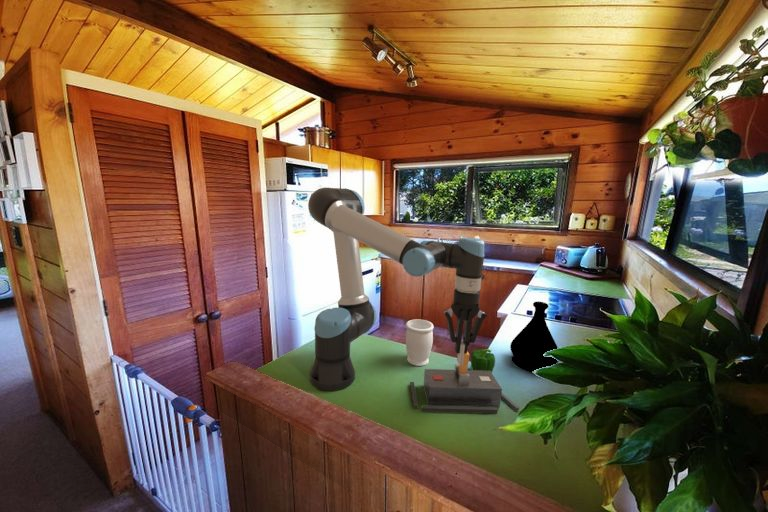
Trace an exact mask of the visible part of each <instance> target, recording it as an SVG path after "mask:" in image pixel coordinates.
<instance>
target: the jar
mask: <svg viewBox="0 0 768 512" xmlns="http://www.w3.org/2000/svg"><path fill="white" fill-rule="evenodd" d="M405 325H406V328H407V329H406V332H405V346H406V348H405V349H406V353H407V357H406V359H407V362H408V363H409V364H410V365H413V366H417V367H422V366H425V365H428V364H429V362H430V361H429V360H430V359H429V357H430V355H431V351H432V348H433V341H434V335H433V334H434V333H433V330H434V326H435V325H434V324H433V323H432V322H431V321H429V320H426V319H419V318H418V319H417V318H414V319H411V320H408V321H407V322H406V324H405Z"/></svg>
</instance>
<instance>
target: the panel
mask: <svg viewBox="0 0 768 512" xmlns="http://www.w3.org/2000/svg"><path fill="white" fill-rule="evenodd" d="M458 370H459V363H456V364H454V369H441V368H440V369H439V368H436V369H435V368H433V369H431V368H424V373H423V374H424V375H423V388H424V394H425V396H426V401H427V406H467V407H496V408H497V407H498V408H499V407H501V400H502V398H501V393H503V389H502V387H501V385H500V384H499V382H498V381H497V379H496V377H495V376H494V374H493V373H491V371H481V370H472V369H470V370H469V369H467V373H459V374H458V372H459V371H458Z"/></svg>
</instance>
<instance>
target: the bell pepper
mask: <svg viewBox="0 0 768 512" xmlns="http://www.w3.org/2000/svg"><path fill="white" fill-rule="evenodd" d="M491 352H492V350H491V349H489V348H485V349H484V348H483V349H473V350H472V352H471V354H470V365H471V370H481V371H491V373H492V372H493V370H494V368H495V364H496V356H495V354H494V353H491ZM492 374H493V373H492Z"/></svg>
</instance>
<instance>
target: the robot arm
mask: <svg viewBox="0 0 768 512" xmlns="http://www.w3.org/2000/svg"><path fill="white" fill-rule="evenodd" d="M307 206H308V212H309V214H310V216H311V218H313V219H314V220H315V222H317V223H319V224H320V225H322V226H324V227H326V228H328V230H330V231H331V232H332V233H333V241H334V247H335V248H334V249H335V257H336V263H337V271H338V273H337V274H338V279H339V288H340V299H339V300H338V301H337V306H338V307H332V308H326V309H325V310H322V311H321V312H319V313H318V314H317V316H316V317H315V322H314V349H315V350H314V351H315V353H314V355H315V356H314V360H313V364H312V366H311V369H310V371H309V381H310V384H311V385H312V386H313V387H314V388H316V389H318V390H321V391H326V392H333V391H340V390H343V389H346V388H347V387H349V386H351V385H352V384H353V382H354V380H355V379H356V377H355V376H356V370H355V367H354V364H353V362H352V359H351V343H352V342H354V341H355V340H357V339H358V338H359V337H361V336H363V335H364V334H366V333H368V332H369V331H370V330H371V329H372V328H373V327H374V325H375V324H376V321H377V310H376V307H375V306H374V305H373V303H372V302H371V301H370V297H369V296H368V295H366V293H365V287H364V277H363V270H362V260H361V253H360V251H361V250H360V243H362V244H364V245H365V246H367V247H369V248H371V249H373V250H375V251H377V252H378V253H380V254H382V255H384V256H386V257H387V258H389V259H391V260H393V261H395V262H397V263H398V264H401V265H402V267H403V268H404V270H405V272H406V273H407V274H408V275H410V276H411V277H422V276H425V275H426V276H427V275H429V274H430V273H432V272H433V271H434V270H437V269H439V268H441V267H442V268H449V269H455V276H454V277H455V278H454V279H455V280H454V288H455V289H454V290H453V300H452V303H451V305H450V308H448V309H444V310H443V314H444V315H445V317H446V322H447V328H448V335H449V338H450V340H451V342H452V343H455V344H454V345H455V346H454V351H455V354H457V356H456V361H457V364H459V365H463V359H464V354H467V351H468V349H469V348H468V347H469V346H470V344H471V343H472V344H474V343H475V342H476V339H477V337H478V334H479V332H480V329H481V327H482V324H483V321H484V320H486V318H487V317H488V316H487V314H486V313H485V312H484V311H483V310H481V308H480V305H479V304H480V298H481V293H480V290H481V288H482V287H481V285H482V278H483V271H484V269H483V268H484V261H485V241H484V240H483V239H481V238H476V237H475V238H474V237H460V238H459V239H458V242H457V243H451V242H444V241H443V242H442V241H435V240H422V241H421V242H420V243H419V242H418V241H415V240H413V239H412V238H410V237H407V236H406V235H404V234H402V233H400V232H398V231H396V230H394V229H392V228H390V227H388V226H387V225H384V224H383V223H380V222H378V221H376V220H374V219H372V218H370V217H368V216H366V215H364V213H365V202H364V200H363V197H362V196H361V195H360V194H359V193H358V192H357V191H355V190H352V189H349V188H340V187H336V188H335V187H321V188H318V189H317V190H314V192H313V193H312V194H311V195H310V196H309V199H308V203H307ZM359 242H360V243H359ZM453 314H454V315H455V316H456V326H455V327H456V329H454V323H453V319H452V317H453ZM475 317H476V318H475ZM474 318H475V320H474V323H473V319H474ZM472 323H473V326H472ZM471 327H472V328H471Z"/></svg>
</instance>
